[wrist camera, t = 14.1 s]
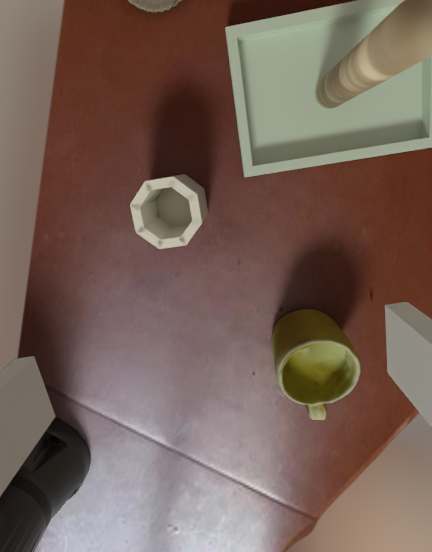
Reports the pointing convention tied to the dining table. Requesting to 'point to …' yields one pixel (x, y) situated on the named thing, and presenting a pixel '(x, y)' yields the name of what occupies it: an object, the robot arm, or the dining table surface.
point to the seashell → (155, 5)
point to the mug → (313, 360)
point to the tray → (301, 92)
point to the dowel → (380, 54)
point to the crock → (169, 210)
